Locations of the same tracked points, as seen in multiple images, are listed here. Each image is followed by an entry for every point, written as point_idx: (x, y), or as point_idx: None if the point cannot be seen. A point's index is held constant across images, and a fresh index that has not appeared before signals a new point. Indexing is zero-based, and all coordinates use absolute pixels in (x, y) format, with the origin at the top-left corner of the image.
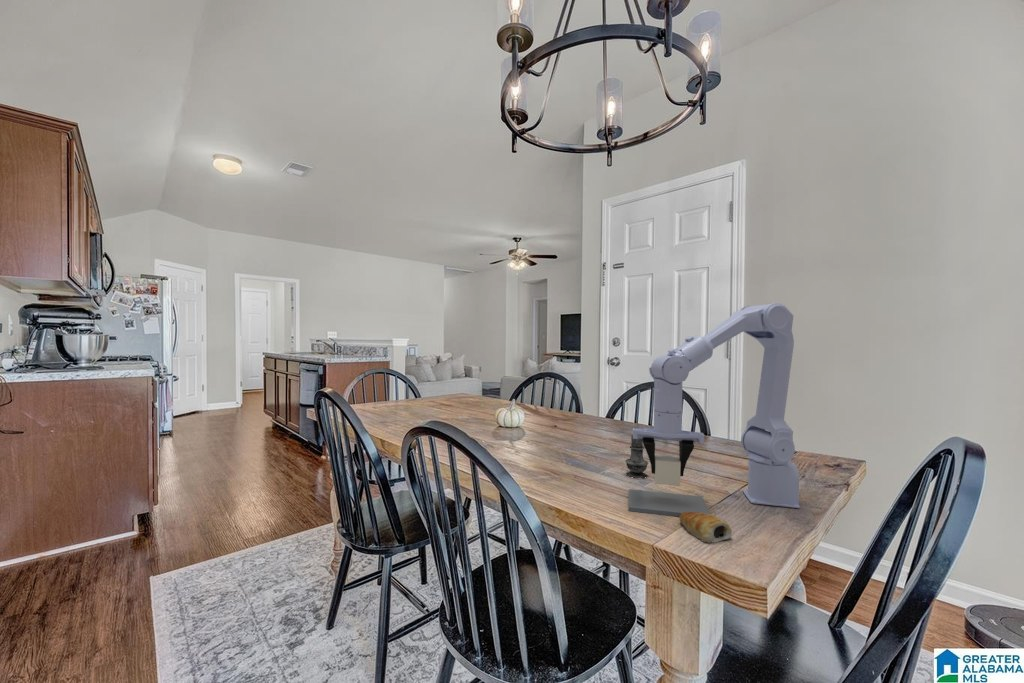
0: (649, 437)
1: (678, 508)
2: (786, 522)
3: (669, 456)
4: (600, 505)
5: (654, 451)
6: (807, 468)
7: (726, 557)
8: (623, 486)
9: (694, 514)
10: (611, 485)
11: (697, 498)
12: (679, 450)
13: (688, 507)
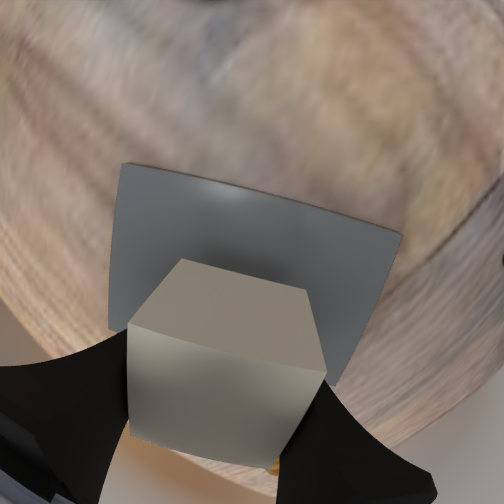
0: (30, 495)
1: None
2: (484, 358)
3: (245, 384)
4: (51, 282)
5: (105, 472)
6: None
7: None
8: (125, 96)
9: None
10: (88, 96)
11: (374, 256)
12: (323, 448)
13: None
